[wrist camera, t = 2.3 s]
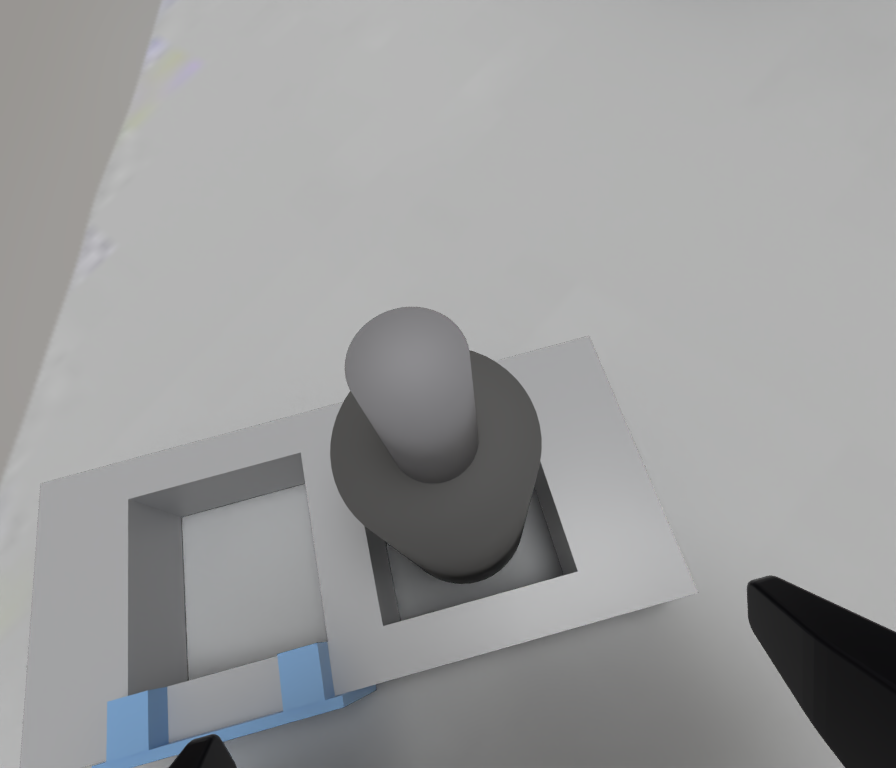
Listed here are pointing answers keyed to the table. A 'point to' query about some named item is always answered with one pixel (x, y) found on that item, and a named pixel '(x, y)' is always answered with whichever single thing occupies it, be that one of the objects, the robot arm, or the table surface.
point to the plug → (435, 445)
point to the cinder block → (339, 569)
